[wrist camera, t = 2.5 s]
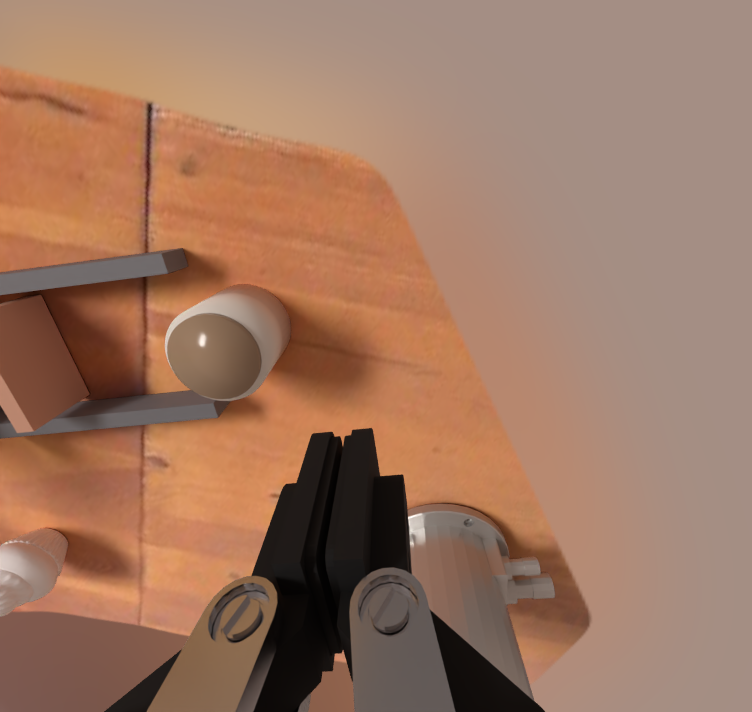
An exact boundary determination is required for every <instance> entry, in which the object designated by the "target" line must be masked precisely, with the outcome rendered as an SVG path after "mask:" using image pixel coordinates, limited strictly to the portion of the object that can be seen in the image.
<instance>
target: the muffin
mask: <svg viewBox="0 0 752 712" xmlns="http://www.w3.org/2000/svg"><path fill="white" fill-rule="evenodd" d="M67 548H68V541H67V539H66V538H65V536H63V534H61V533H60V532H58V531H55V530H52V529H48V528H40V529H37V530H34V531H32V532H29V533H27V534H24V535H22V536H19V537H17V538H14V539H12V540H9V541H6V542H5V543H3V544H1V546H0V617H1V616H4V615H7V614H9V613H10V612H11V611H12V610H14V609H15V608H16V607H17V606H21V605H23V604H24V603H27V602H32V601H35V600H38V599H40V598H42V597H44V596H45V595H47V594H48V593H49V592H50V591H51V590H52V589H53V588H54V586H55V584H56V581H57V577H58V576H60V573H61V571H62V567H63V563H64V560H65V556H66V552H67Z"/></svg>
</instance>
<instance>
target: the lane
mask: <svg viewBox="0 0 752 712" xmlns="http://www.w3.org/2000/svg"><path fill="white" fill-rule="evenodd" d="M185 267H188V263H187V260H186V257H185V254H184V251H183V248H180V249H173V250H165V251H158V252H150V253H143V254H135V255H128V256H120V257H113V258H105V259H98V260H90V261H83V262H75V263H68V264H60V265H53V266H45V267H38V268H30V269H23V270H15V271H8V272H1V273H0V295H5V294H13V293H21V292H29V291H36V290H44V289H52V288H60V287H67V286H75V285H83V284H91V283H99V282H106V281H114V280H122V279H130V278H137V277H145V276H153V275H161V274H168V273H171V272H174V271H177V270H180V269H183V268H185ZM229 403H230V401H219V400H214V399H210V398H207V397H204V396H202V395H199V394H197V393H196V392H194V391H192V390H189V391H180V392H170V393H160V394H150V395H140V396H131V397H121V398H111V399H101V400H92V401H82V402H77V403H76V404H74V405H73V406H71V407H70V408H68V409H67V410H65V411H64V412H62V413H61V414H59V415H58V416H56V417H55V418H53V419H52V420H50V421H49V422H47V423H46V424H44V425H43V426H41V427H40V428H38V429H37V430H35V431H33V432H23V433H17V432H16V430H15V429H14V427H13V425H12V424H11V422H10V420H9V419H8V417H7V415H6V414H5V412H4V411H3V409H2V407H1V406H0V438H11V437H21V436H32V435H42V434H52V433H63V432H73V431H84V430H94V429H105V428H115V427H126V426H136V425H146V424H157V423H167V422H178V421H188V420H199V419H209V418H218V417H219V416H220V414H221V413H222V412H223V411H224V409H225V408H226V407H227V405H228V404H229Z"/></svg>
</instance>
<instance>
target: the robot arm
mask: <svg viewBox="0 0 752 712" xmlns="http://www.w3.org/2000/svg"><path fill="white" fill-rule="evenodd" d="M509 558H510V555H509V550H508V546H507V543H506V540H505V537H504V535H503V533H502V532H501V530H500V529H499V527H498V526H497V525H496V524H495V523H494V522H493V521H492V520H491V519H490V518H488V517H487V516H485V515H483V514H482V513H480V512H478V511H475V510H473V509H470V508H468V507H464V506H459V505H454V504H428V505H423V506H419V507H414V508H411V509H409V510H407V500H406V492H405V484H404V477H403V475H391V476H380V472H379V466H378V460H377V453H376V447H375V440H374V434H373V430H372V428H369V429H358V430H352V434H351V435H349V436H345V439H344V445H343V446H342V441H341V437H340V436H338V437H334V434H333V432H325V433H314V434H312V436H311V438H310V441H309V445H308V448H307V451H306V454H305V457H304V461H303V464H302V467H301V470H300V473H299V477H298V480H297V483H292V484H286V485H285V486H284V487H283V489H282V491H281V494H280V497H279V500H278V503H277V505H276V508H275V511H274V514H273V517H272V519H271V522H270V525H269V528H268V531H267V534H266V536H265V539H264V542H263V545H262V548H261V550H260V553H259V556H258V559H257V562H256V565H255V567H254V570H253V573H252V576H247V577H244V578H241V579H238V580H235V581H233V582H232V583H230V584H229V585H227V586H225V587H224V588H223V589H222V590H221V591H220V592H219V593H217V594H216V595H215V596H214V597H213V599H212V600H211V602H210V603H209V604H208V606H207V607H206V609H205V610H204V612H203V614H202V616H201V617H200V619H199V621H198V623H197V624H196V626H195V628H194V630H193V631H192V633H191V635H190V637H189V638H188V640H187V642H186V644H185V646H184V647H183V649H182V650H180V651H179V652H178V653H177V654H176V655H174V656H173V657H172V658H171V659H169V660H168V661H167V662H166V663H164V664H163V665H162V666H160V667H159V668H158V669H157V670H155V671H154V672H153V673H152V674H151V675H149V676H148V677H147V678H146V679H144V680H143V681H142V682H141V683H140V684H138V685H137V686H136V687H134V688H133V689H132V690H131V691H129V692H128V693H127V694H126V695H124V696H123V697H122V698H121V699H120V700H118V701H117V702H116V703H114V704H113V705H112V706H111V707H109V708H108V709H107V710H106V711H104V712H308V710H309V704H310V697H311V695H310V693H311V692H312V691H313V690H314V689H315V688H316V687H317V685H318V684H319V683H320V682H321V678H322V672H323V671H333V663H334V656H335V653H342V651H343V650H344V654H345V657H346V661H347V665H348V668H349V672H350V676H351V679H352V681H353V687H354V689H353V690H354V707H355V708H354V709H355V712H545V711H544V710H543V709H542V708H541V707H540V706H539V705H538V704H537V703H536V702H535V701H534V698H533V695H532V691H531V688H530V684H529V681H528V677H527V674H526V670H525V667H524V664H523V660H522V657H521V653H520V650H519V646H518V643H517V639H516V636H515V633H514V629H513V626H512V622H511V619H510V615H509V612H508V608H507V605H508V604H517V601H518V600H517V599H524V598H532V599H543V598H554V597H555V590H554V585H553V582H552V579H551V577H550V575H549V573H548V572H540V565H539V562H538V559H537V558H536V557H520V558H518V559H509Z"/></svg>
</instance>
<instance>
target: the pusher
mask: <svg viewBox="0 0 752 712" xmlns="http://www.w3.org/2000/svg"><path fill="white" fill-rule="evenodd" d="M88 395H90V394H89V392H88V389H87V387H86V385H85V383H84V381H83V379H82V377H81V375H80V373H79V371H78V369H77V367H76V365H75V363H74V361H73V359H72V357H71V355H70V353H69V351H68V349H67V347H66V345H65V343H64V341H63V339H62V337H61V334H60V332H59V330H58V328H57V326H56V324H55V322H54V320H53V318H52V316H51V314H50V312H49V310H48V308H47V306H46V304H45V302H44V300H43V298H42V296H41V295H35V296H27V297H22V298H19V299H15V300H11V301H8V302H4V303H1V304H0V406H1V407H2V409H3V411H4V412H5V414H6V415H7V417H8V419H9V420H10V422H11V424H12V425H13V427H14V429H15V430H16V432H17V433H23V432H33V431H35V430H37V429H38V428H40V427H41V426H43V425H44V424H46V423H47V422H49V421H50V420H52V419H53V418H55V417H56V416H58V415H59V414H61V413H62V412H64V411H65V410H67V409H68V408H70V407H71V406H73V405H74V404H76V403H77V402H79V401H80V400H82V399H84V398H85V397H87V396H88Z"/></svg>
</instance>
